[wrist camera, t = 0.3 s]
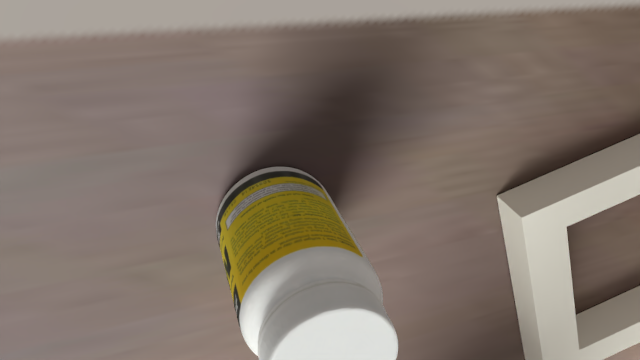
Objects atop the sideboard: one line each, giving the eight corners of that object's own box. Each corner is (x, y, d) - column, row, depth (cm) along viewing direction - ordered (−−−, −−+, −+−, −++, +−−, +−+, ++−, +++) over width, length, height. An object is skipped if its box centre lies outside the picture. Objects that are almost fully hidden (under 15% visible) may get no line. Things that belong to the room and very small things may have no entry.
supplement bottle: (189, 211, 24) (217, 365, 16) (289, 140, 23) (363, 263, 16) (259, 286, 26) (310, 448, 19) (350, 222, 26) (437, 360, 19)
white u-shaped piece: (700, 277, 34) (731, 299, 32) (524, 358, 33) (546, 385, 31) (708, 103, 28) (745, 119, 27) (496, 195, 27) (521, 217, 26)
